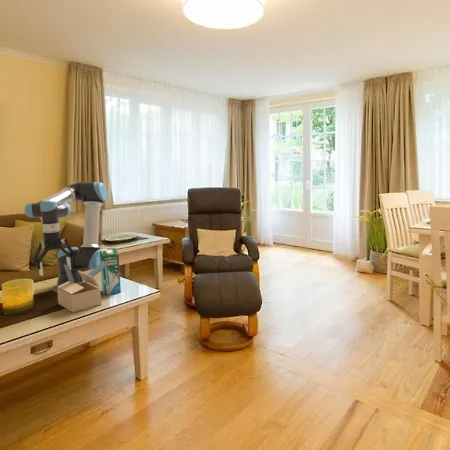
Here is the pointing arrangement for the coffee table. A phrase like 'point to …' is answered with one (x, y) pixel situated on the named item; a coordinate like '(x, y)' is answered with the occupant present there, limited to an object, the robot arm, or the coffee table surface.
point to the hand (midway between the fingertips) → (55, 272)
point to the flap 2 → (93, 274)
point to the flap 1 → (70, 283)
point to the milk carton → (110, 271)
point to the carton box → (80, 298)
